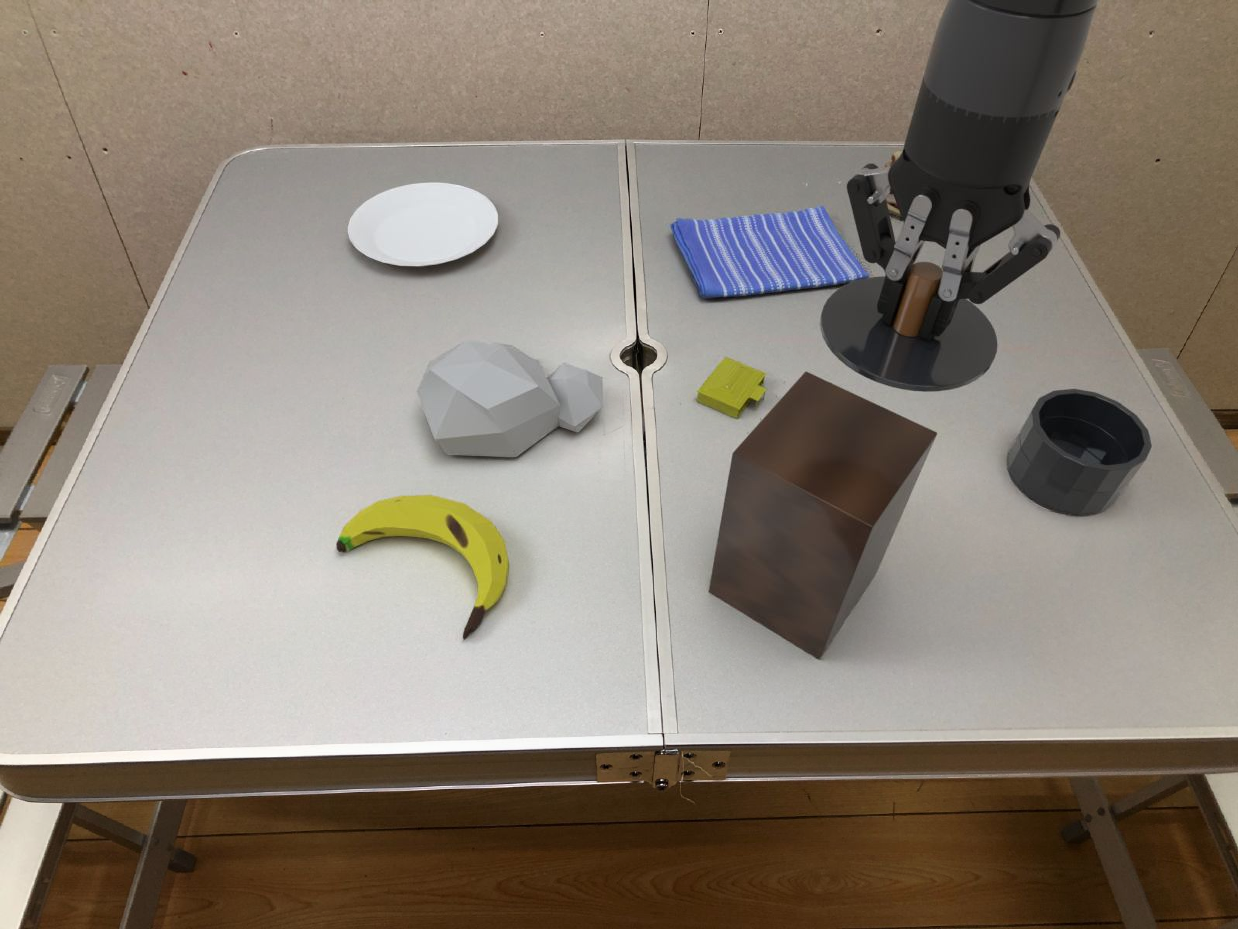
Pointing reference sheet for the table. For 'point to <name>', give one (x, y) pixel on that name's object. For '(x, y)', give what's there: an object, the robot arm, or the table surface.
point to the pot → (1077, 452)
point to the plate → (423, 224)
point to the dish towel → (765, 253)
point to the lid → (907, 335)
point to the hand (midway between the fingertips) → (910, 325)
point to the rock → (502, 399)
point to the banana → (439, 539)
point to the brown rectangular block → (814, 509)
